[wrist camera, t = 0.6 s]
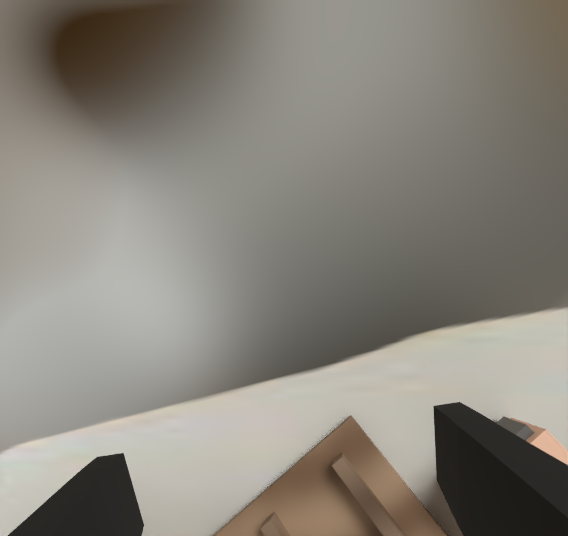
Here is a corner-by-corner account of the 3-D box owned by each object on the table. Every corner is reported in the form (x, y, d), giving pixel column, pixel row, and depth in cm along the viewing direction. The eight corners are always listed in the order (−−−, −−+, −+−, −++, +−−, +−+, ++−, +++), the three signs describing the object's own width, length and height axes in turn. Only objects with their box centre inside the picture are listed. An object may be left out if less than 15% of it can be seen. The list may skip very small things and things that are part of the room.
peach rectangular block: (556, 464, 25) (604, 487, 20) (486, 528, 25) (517, 566, 20) (504, 410, 27) (537, 421, 22) (437, 470, 26) (456, 494, 22)
